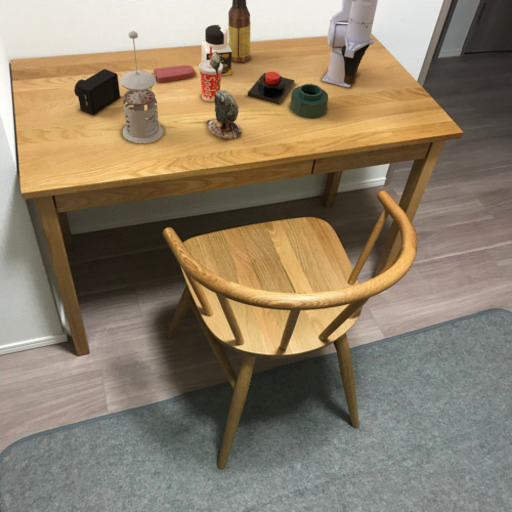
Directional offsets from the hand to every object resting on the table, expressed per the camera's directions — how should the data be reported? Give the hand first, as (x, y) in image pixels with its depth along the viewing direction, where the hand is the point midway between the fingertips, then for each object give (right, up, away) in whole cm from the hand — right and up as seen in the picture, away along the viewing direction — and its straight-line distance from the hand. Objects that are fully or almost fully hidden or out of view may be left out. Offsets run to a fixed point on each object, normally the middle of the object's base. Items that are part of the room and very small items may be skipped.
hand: (351, 72), depth 142 cm
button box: (-20, -1, +12) cm, 23 cm away
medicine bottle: (-35, +6, +18) cm, 40 cm away
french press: (-51, -16, -4) cm, 54 cm away
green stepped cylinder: (-10, -7, +6) cm, 14 cm away
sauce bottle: (-29, +11, +23) cm, 39 cm away
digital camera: (-64, -7, +3) cm, 65 cm away
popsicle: (-48, +3, +14) cm, 50 cm away
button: (-20, +1, +10) cm, 22 cm away
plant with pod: (-32, -16, -3) cm, 36 cm away
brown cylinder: (0, -2, +2) cm, 3 cm away
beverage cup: (-36, -4, +8) cm, 37 cm away
